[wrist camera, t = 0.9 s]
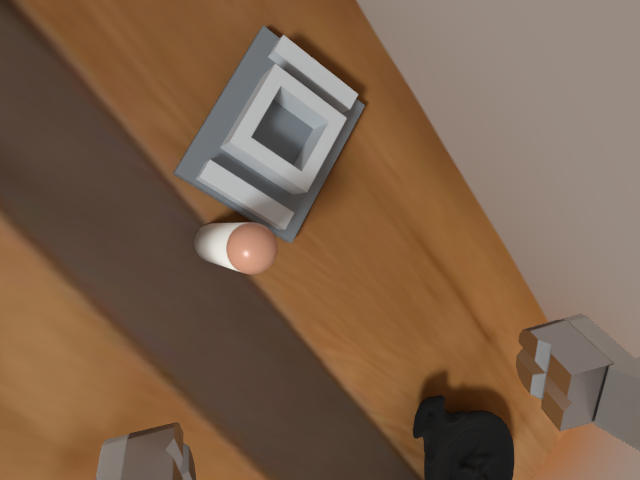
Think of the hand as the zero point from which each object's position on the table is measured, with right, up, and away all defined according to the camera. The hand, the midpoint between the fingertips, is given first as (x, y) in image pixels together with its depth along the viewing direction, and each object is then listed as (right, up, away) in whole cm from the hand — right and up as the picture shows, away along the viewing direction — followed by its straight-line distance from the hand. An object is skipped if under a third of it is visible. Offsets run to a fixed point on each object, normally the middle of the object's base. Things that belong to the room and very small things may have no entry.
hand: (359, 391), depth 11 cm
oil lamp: (+15, -23, +52) cm, 59 cm away
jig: (-6, +14, +41) cm, 44 cm away
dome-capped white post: (-12, +3, +39) cm, 41 cm away
